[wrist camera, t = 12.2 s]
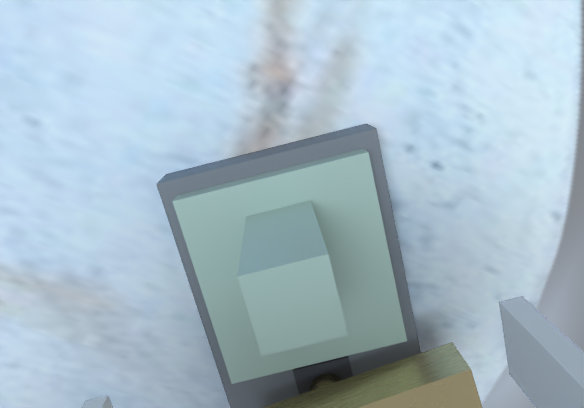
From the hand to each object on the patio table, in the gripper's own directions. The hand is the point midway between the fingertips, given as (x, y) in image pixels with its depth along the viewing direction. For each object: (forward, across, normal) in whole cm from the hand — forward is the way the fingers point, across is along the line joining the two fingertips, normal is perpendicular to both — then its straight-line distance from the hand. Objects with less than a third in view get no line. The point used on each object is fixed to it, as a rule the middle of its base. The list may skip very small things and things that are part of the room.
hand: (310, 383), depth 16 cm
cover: (+16, 0, -2) cm, 16 cm away
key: (+16, +2, -12) cm, 20 cm away
